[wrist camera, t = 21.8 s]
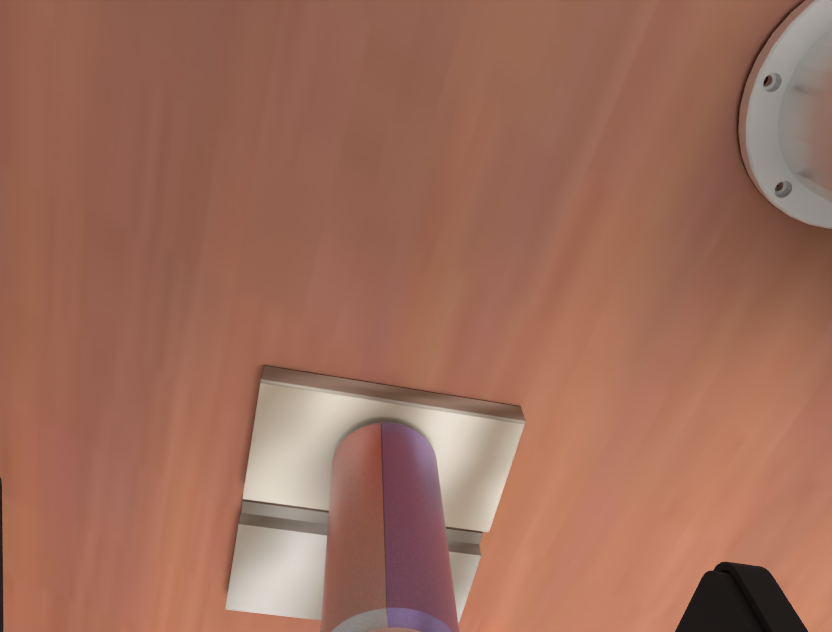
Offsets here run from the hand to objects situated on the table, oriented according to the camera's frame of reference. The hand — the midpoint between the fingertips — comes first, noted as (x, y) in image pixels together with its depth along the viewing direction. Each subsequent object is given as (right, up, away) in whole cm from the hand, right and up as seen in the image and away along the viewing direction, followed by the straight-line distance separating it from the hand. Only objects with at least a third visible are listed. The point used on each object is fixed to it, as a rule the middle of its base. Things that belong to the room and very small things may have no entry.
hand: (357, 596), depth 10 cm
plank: (-1, -4, +36) cm, 36 cm away
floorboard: (-3, -12, +39) cm, 42 cm away
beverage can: (-1, -4, +34) cm, 35 cm away
